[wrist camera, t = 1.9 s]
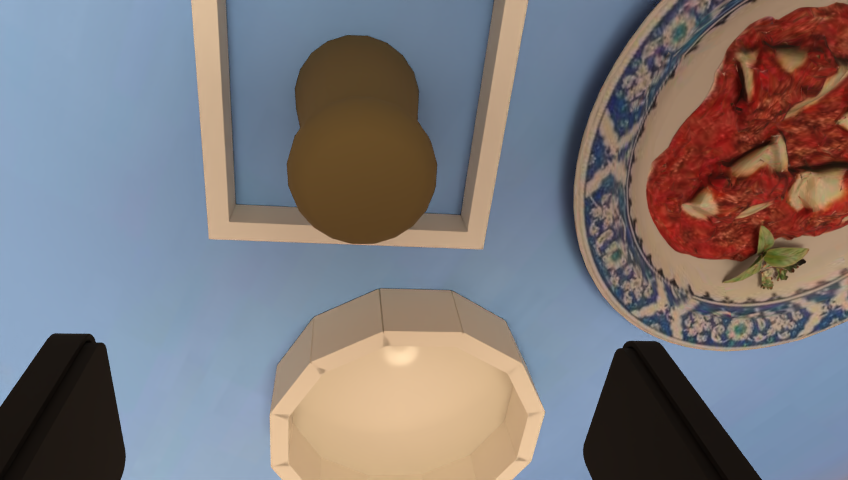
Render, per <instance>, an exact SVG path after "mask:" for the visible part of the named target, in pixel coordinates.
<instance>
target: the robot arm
mask: <svg viewBox="0 0 848 480" xmlns="http://www.w3.org/2000/svg"><path fill="white" fill-rule="evenodd" d="M583 455H584V460H585V463H586V466H587V468H588V471H589V473H590V475H591V477H592V480H762V479H761V478H760V477H759V475H758V474H757V473H756V471H755V470H754V469H753V467H752V466H751V464H750V463H749V462H748V460H747V459H746V458H745V456H744V455H743V454H742V452H741V451H740V450H739V448H738V447H737V446H736V444H735V443H734V442H733V440H732V439H731V438H730V436H729V435H728V434H727V432H726V431H725V429H724V428H723V427H722V425H721V424H720V423H719V421H718V420H717V419H716V417H715V416H714V415H713V413H712V412H711V411H710V409H709V408H708V407H707V405H706V404H705V403H704V401H703V400H702V398H701V397H700V396H699V394H698V393H697V392H696V390H695V389H694V388H693V386H692V385H691V384H690V382H689V381H688V380H687V378H686V377H685V376H684V374H683V373H682V372H681V370H680V369H679V368H678V366H677V365H676V363H675V362H674V361H673V359H672V358H671V357H670V355H669V354H668V353H667V351H666V350H665V349H664V347H663V346H662V345H661V344H660V343H659V342H656V341H628V342H626V343H625V344H624V346H623V348H620V349H617V350H616V352H615V354H614V357H613V360H612V363H611V366H610V369H609V372H608V375H607V378H606V381H605V384H604V386H603V389H602V392H601V395H600V398H599V401H598V404H597V407H596V410H595V413H594V416H593V419H592V422H591V425H590V428H589V431H588V434H587V437H586V440H585V442H584V447H583ZM125 458H126V454H125V447H124V442H123V436H122V431H121V425H120V420H119V414H118V409H117V404H116V398H115V393H114V387H113V382H112V377H111V371H110V366H109V360H108V355H107V349H106V346H105V344H104V343H96V342H95V339H94V337H93V336H92V335H91V334H58V333H55V334H52V335H51V336H50V337H49V338H48V339H47V340H46V342H45V343H44V345H43V346H42V348H41V349H40V351H39V352H38V353H37V355H36V356H35V358H34V359H33V361H32V362H31V363H30V365H29V366H28V368H27V369H26V371H25V372H24V373H23V375H22V376H21V378H20V379H19V381H18V382H17V384H16V385H15V386H14V388H13V389H12V391H11V392H10V394H9V395H8V396H7V398H6V399H5V401H4V402H3V404H2V405H1V407H0V480H121V477H122V474H123V471H124V467H125Z"/></svg>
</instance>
